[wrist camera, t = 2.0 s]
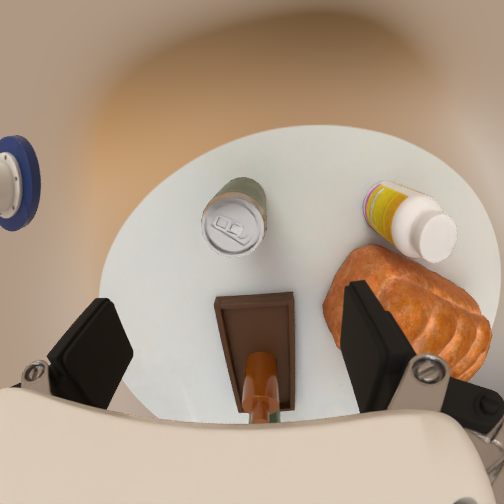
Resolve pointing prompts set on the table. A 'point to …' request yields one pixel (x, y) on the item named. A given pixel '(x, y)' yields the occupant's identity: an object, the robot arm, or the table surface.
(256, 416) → the amber bottle
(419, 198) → the supplement bottle
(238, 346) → the tray
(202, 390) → the table surface
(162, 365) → the table surface
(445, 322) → the bread
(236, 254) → the beer can
